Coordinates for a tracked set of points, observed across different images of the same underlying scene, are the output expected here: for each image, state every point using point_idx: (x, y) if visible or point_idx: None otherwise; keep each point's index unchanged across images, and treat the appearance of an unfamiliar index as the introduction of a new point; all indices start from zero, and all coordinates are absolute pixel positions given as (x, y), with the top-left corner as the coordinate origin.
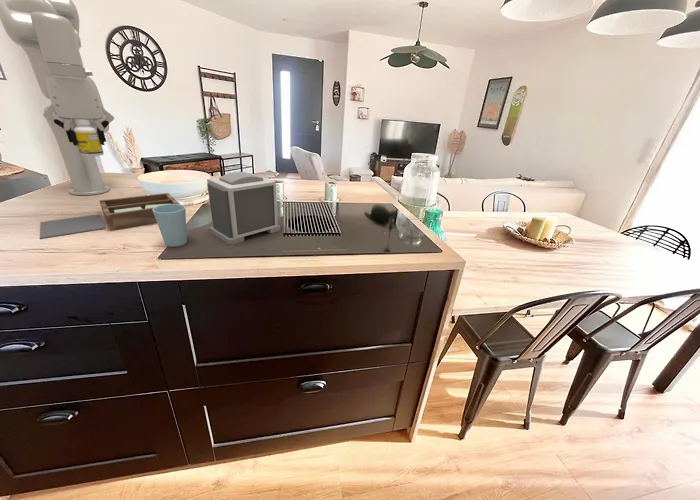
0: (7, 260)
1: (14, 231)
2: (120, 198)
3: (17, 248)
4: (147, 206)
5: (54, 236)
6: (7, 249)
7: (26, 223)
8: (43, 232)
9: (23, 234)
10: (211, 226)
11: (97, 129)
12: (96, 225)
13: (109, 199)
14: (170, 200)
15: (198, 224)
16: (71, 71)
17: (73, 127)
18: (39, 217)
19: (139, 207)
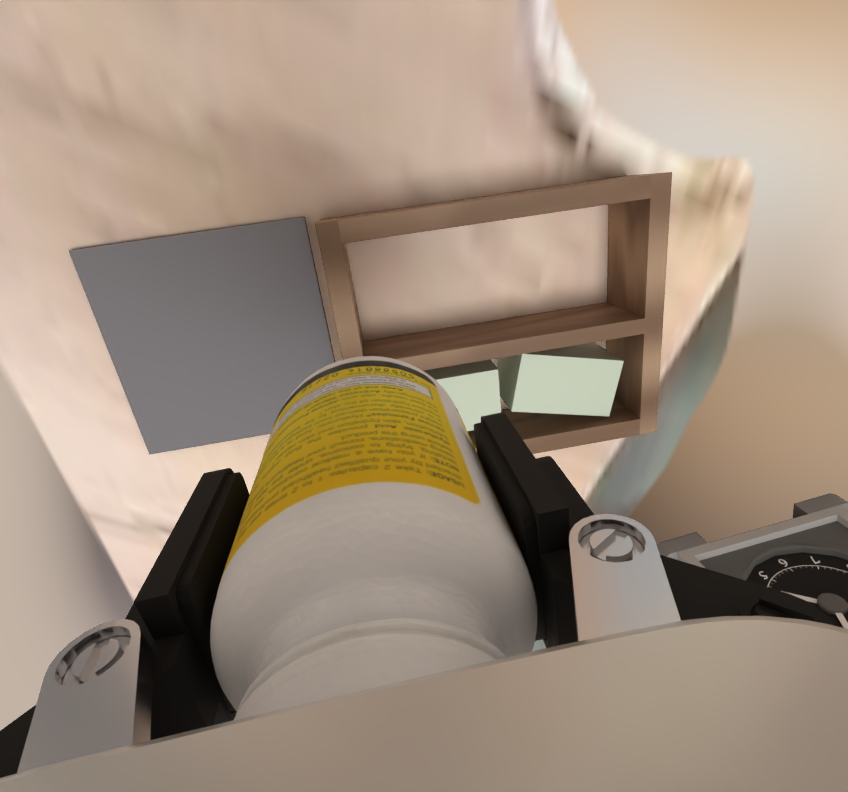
0: (129, 583)
1: (12, 330)
2: (419, 214)
3: (114, 508)
4: (526, 375)
5: (191, 445)
6: (87, 507)
7: (4, 226)
8: (140, 402)
9: (67, 380)
10: (669, 556)
11: (548, 607)
12: None
13: (365, 217)
14: (638, 334)
15: (645, 476)
16: None
17: (231, 696)
18: (19, 135)
19: (493, 381)
